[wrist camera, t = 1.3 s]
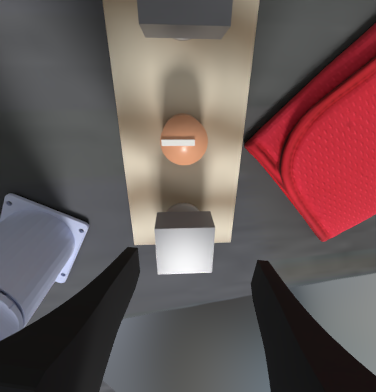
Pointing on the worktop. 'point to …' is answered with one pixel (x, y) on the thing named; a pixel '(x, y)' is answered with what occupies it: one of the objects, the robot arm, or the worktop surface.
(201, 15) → the button
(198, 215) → the button
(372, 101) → the dish drying mat
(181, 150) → the orange knob
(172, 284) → the worktop surface
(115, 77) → the mount board
